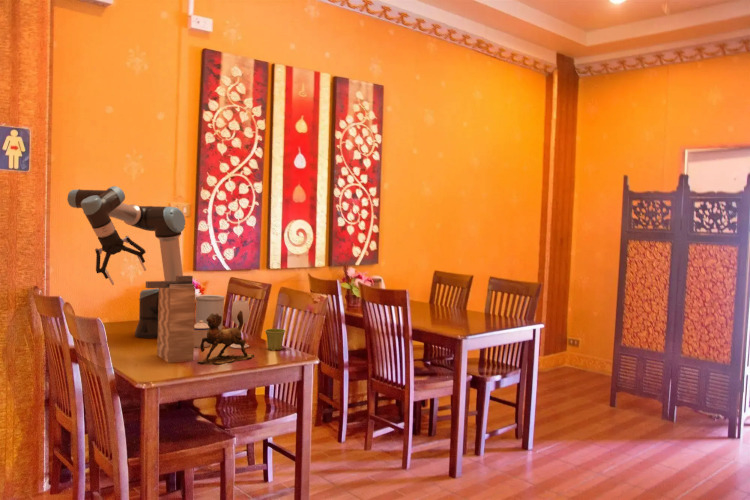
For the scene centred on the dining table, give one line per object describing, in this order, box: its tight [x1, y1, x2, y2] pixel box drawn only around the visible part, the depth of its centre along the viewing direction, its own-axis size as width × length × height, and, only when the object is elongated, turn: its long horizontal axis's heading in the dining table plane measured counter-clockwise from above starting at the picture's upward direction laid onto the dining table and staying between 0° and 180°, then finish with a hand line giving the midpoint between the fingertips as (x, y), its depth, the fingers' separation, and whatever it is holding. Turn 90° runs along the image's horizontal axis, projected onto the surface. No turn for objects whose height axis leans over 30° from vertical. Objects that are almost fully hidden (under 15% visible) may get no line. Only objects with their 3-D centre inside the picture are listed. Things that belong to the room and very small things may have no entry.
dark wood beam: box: [145, 275, 193, 289], centre depth 247 cm, size 3×18×4 cm, turn 126°
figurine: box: [197, 311, 255, 366], centre depth 252 cm, size 13×25×20 cm, turn 128°
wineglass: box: [229, 300, 251, 349], centre depth 280 cm, size 9×9×21 cm
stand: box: [156, 283, 196, 364], centre depth 252 cm, size 16×10×32 cm, turn 36°
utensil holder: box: [195, 294, 225, 330], centre depth 322 cm, size 15×15×18 cm
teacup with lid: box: [194, 321, 211, 349], centre depth 279 cm, size 12×9×12 cm
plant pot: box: [264, 328, 286, 351], centre depth 278 cm, size 9×9×9 cm
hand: (129, 276), depth 252 cm, fingers open, 13 cm apart
